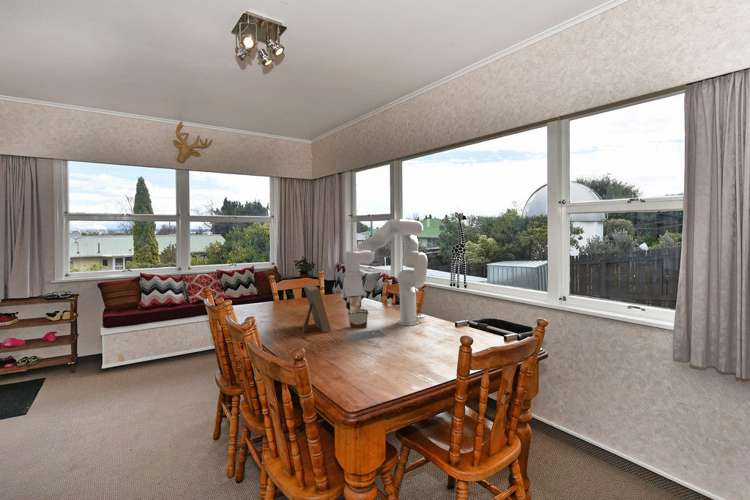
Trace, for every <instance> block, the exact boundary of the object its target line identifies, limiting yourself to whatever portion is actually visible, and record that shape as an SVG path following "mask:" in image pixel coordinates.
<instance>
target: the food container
mask: <svg viewBox="0 0 750 500" xmlns="http://www.w3.org/2000/svg"><path fill="white" fill-rule="evenodd" d="M347 315H348V320H349V328H350V329H367V328H368V315H370V313H369V310H368V309H365V308H360V312H358V313H350V312H348V311H347Z"/></svg>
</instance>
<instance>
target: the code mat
mask: <svg viewBox="0 0 750 500" xmlns="http://www.w3.org/2000/svg"><path fill="white" fill-rule="evenodd" d="M344 335H345V337H347V338H348V340H349V341H351V342H355V341H360V340H361V341H362V340H369V339H378V338H385V337H388V335H387V334H385V332H383V331H382V330H380V329H372V330H365V331H357V332H350V333H349V332H348V333H344Z"/></svg>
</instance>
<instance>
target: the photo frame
mask: <svg viewBox="0 0 750 500" xmlns="http://www.w3.org/2000/svg"><path fill="white" fill-rule="evenodd" d="M303 289H304V292H305V295H306V298H307V302H308V305H309V308H308V310H307V311H308V312H307V313H306V317H305V320H304V322H303V329H302V333H303V334H304V333H305V332H307V329H308V326H309V321H310V318H311V315H312V319H313V321H314V325H315V326H317V328H319V330H321V332H322V333H327V332H329V331H331V330H332V329H331V325H330V321H329V318H328V315H327V312H326V308H325V305H324V302H323V297H322V295H321V290H320V288H319V287H317V286H315V284H313V283H311V282H310V283H307V284H304V285H303Z"/></svg>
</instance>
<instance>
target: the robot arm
mask: <svg viewBox="0 0 750 500" xmlns="http://www.w3.org/2000/svg"><path fill="white" fill-rule="evenodd" d="M423 232H424V225H423V224H422V223H421V222H420V221H418V220H414V219H413V220H411V219H405V218H404V219H403V218H394V219H393V218H392V219H388V220H387V221H386V222H385V223H384V224H383V225H382V226H381V227H380V228H379V229H378V230H377V231H376V232H375V233H374V234H372V235H371V236H369V237H368V238H366V239H364V240H363V241H361V242H360V243H359V244H357V246H356V247H355V248H354V249H353V250H347V251H346V252H345V253H344V263H345V265H344V267H345V268H344V269H345V276H344V277H343V283H342V292H340V295H339V297H340V298H341V299H343V300H344V302H345V305H346V307H345V308H346V309H347V311H348V310H350V302H349V299H350V297H352V296H358V297H359V299H360V308H361V307H362V301H363V300H364V299H365V297H366V296H367V295H368V293H367V291H365V290H364V285H363V280H362V279H363V278H362V276H361V275H363V273H364V272H363V271H361V268H360V267H361V266H360V265H361V264H363V265H370V264H371V263H373V262H374V260H375V253H374V252H373V251H374V250H377V249H380V248H382V247H385V246H386V245H388V243H389V242H391V240H392V239H393V238H394V237H395V236H396V235H400V236H401V238H402V240H403V251H402V265H403V266H404V267H405V268H409V269H402V270H401V271H399V272H398V274H397V283H398V288H399V313H400V314H399V316H400V317H399V320H397V324H398V325H401V326H416V325H419V323H420V320H423V319H425V315H423V314H422V315H418V314H417V292H416V290H415V289H416V288H418V289H419V288H422V287H423V286H425V283H426V279H427V270H428V260H429V259H428V257H427V255H426V254H425V253H424V252H422V251H419V240H418V238H417V237H418V236H420V235H421V234H422V233H423Z"/></svg>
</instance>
